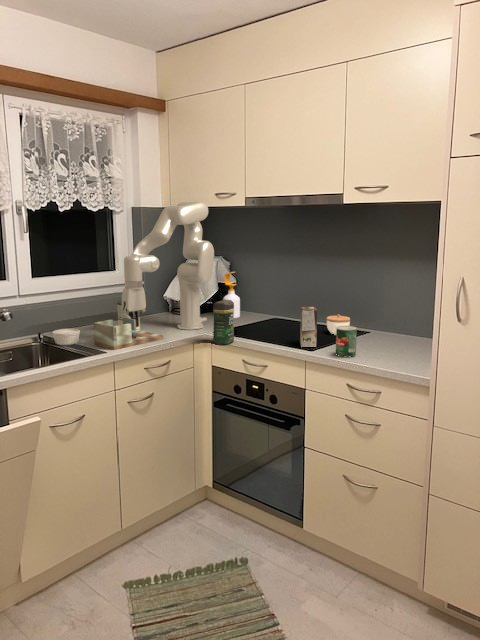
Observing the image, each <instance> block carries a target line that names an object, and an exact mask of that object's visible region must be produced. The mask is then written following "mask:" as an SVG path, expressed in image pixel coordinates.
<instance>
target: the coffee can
mask: <svg viewBox="0 0 480 640" xmlns="http://www.w3.org/2000/svg"><path fill="white" fill-rule="evenodd" d="M116 305H117V322H118V323H117V324H118V325H123V318H124V317H125V318H130V316H129V315H125V314H124V311H123V310H122V299H121V300H118V301H117V302H116ZM140 317H141V316H140ZM140 317H139V327H136V332H140V331H141V321H140V320H141V319H140ZM130 319H131V318H130ZM118 325H117V326H118Z"/></svg>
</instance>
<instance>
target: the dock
mask: <svg viewBox="0 0 480 640" xmlns="http://www.w3.org/2000/svg"><path fill="white" fill-rule="evenodd" d="M114 324H115V323H114V319H107V320H106V319H105V320H102V321H97V322H96V321H95V322H93V334H94V335H93V336H94V345H95V346H99V347H103V348H106V349H109V350H113V351H117V350H121V349H123V348H128V347H133V346H137V345H142V344H147V343H152V342H155V341H160V340H164V336H163V335H161V333H160V332H157V333H153V332H148V330H140V331H137V332H136V333H137V337H136V338H132V332H131V324H123V325H114Z"/></svg>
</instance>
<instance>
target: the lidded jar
mask: <svg viewBox="0 0 480 640" xmlns="http://www.w3.org/2000/svg"><path fill="white" fill-rule="evenodd" d="M350 324H351V317H349V316H346V315H345V316H344V315H340V313H337V315H329V316H327V317H326V328H327V330H328V331H329V333H330V334H331V335H332V334H334V335H333V336H336V331H337V327H338V326H351V325H350Z"/></svg>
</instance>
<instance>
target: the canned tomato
mask: <svg viewBox="0 0 480 640" xmlns="http://www.w3.org/2000/svg"><path fill="white" fill-rule="evenodd" d="M357 329H358V327H356V326H353V325H350V326H338V327H337V331H336V335H335V336H336V337H335V354H337V355H339V356H354V357H356V356H357V354H356V353H357V333H358V330H357ZM355 355H356V356H355ZM339 356H338V357H339Z"/></svg>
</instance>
